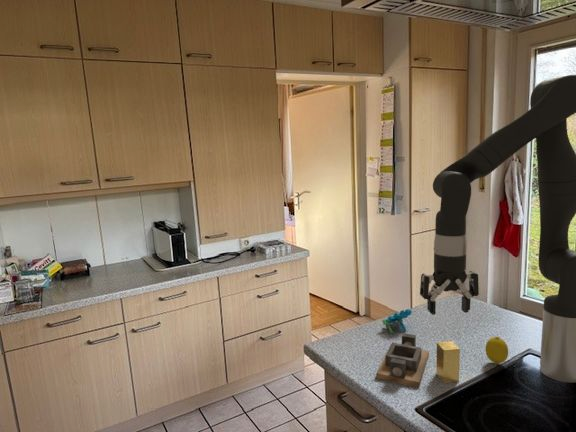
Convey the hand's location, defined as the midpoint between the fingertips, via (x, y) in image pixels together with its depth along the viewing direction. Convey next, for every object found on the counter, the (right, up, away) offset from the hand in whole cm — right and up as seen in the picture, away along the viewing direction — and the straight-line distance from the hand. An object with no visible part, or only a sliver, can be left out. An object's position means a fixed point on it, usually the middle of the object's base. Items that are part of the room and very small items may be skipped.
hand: (448, 312), depth 103 cm
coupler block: (+1, -18, +3) cm, 18 cm away
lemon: (+17, -16, +8) cm, 25 cm away
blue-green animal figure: (-4, -14, +33) cm, 36 cm away
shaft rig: (-9, -17, +9) cm, 21 cm away
